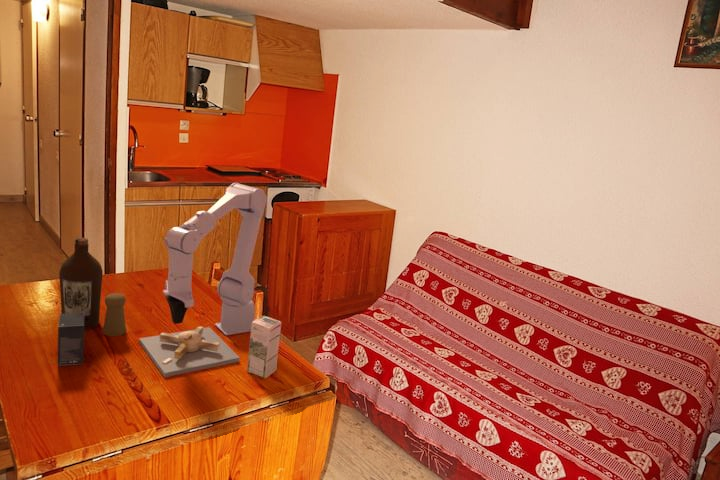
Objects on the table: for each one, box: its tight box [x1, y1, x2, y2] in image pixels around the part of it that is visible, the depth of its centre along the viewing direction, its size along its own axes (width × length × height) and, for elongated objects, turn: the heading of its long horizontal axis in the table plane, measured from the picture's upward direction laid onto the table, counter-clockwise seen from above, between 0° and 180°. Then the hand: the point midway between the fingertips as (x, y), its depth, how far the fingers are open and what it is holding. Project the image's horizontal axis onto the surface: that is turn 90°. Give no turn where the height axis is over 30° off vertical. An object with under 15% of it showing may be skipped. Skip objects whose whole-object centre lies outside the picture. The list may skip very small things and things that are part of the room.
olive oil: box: [58, 237, 103, 331], centre depth 148 cm, size 11×11×25 cm
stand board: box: [138, 326, 240, 378], centre depth 144 cm, size 20×20×2 cm
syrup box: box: [246, 315, 282, 379], centre depth 138 cm, size 6×6×14 cm
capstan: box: [159, 326, 220, 359], centre depth 143 cm, size 12×12×4 cm
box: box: [57, 313, 85, 367], centre depth 132 cm, size 8×6×11 cm
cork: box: [102, 292, 127, 337], centre depth 148 cm, size 6×6×11 cm
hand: (177, 322), depth 140 cm, fingers closed
